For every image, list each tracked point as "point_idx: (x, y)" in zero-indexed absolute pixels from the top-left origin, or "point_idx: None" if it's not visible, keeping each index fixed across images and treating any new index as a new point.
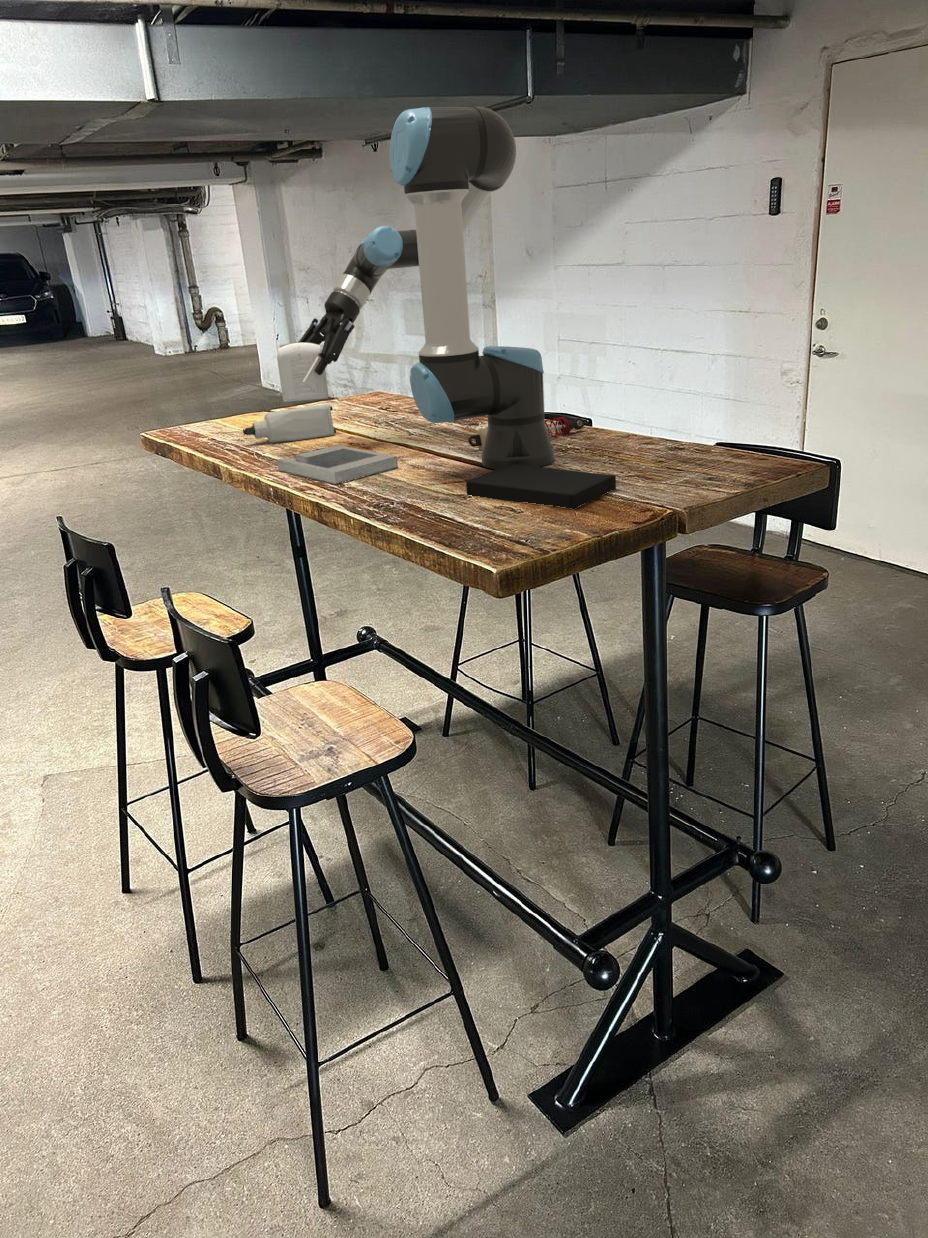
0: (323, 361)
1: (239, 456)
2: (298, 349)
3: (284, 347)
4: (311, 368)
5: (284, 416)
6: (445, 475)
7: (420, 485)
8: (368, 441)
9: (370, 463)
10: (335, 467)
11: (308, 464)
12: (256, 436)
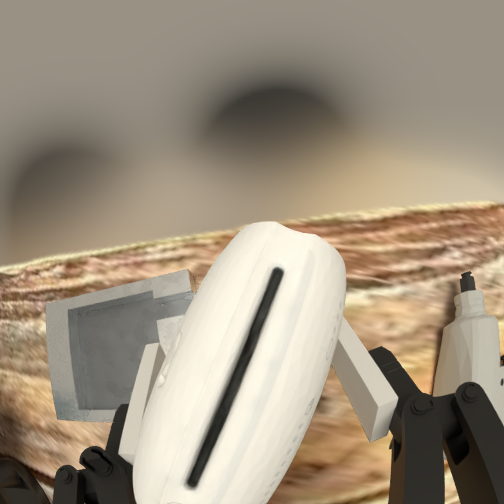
0: (107, 452)
1: (377, 252)
2: (163, 366)
3: (234, 262)
4: (138, 394)
5: (467, 355)
6: (16, 418)
7: (4, 372)
8: (309, 496)
9: (49, 368)
10: (63, 320)
11: (107, 298)
12: (454, 297)
